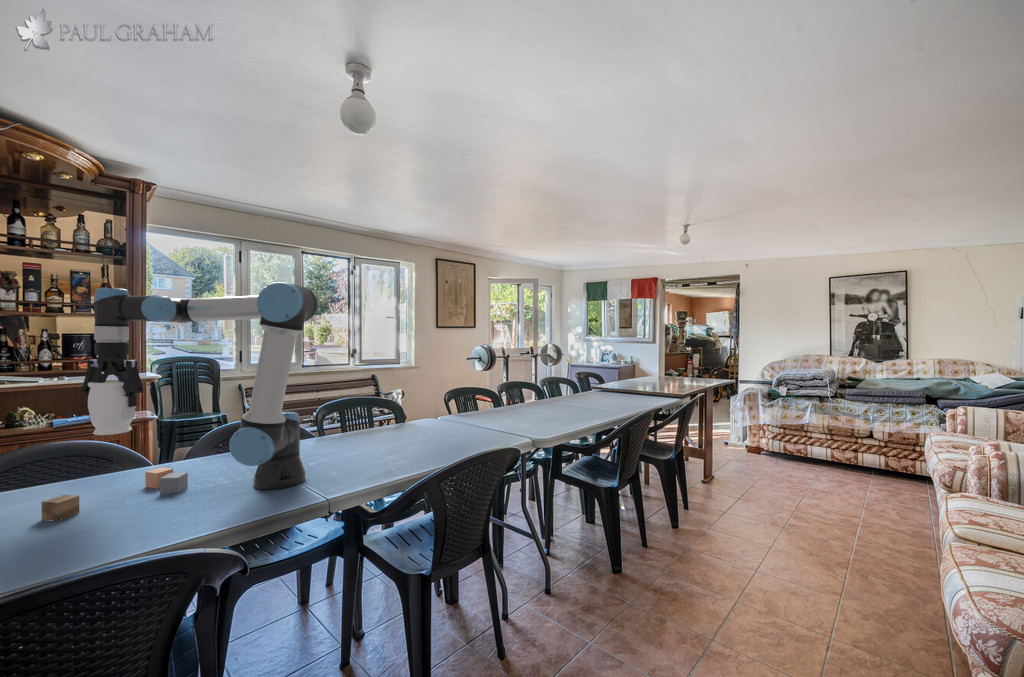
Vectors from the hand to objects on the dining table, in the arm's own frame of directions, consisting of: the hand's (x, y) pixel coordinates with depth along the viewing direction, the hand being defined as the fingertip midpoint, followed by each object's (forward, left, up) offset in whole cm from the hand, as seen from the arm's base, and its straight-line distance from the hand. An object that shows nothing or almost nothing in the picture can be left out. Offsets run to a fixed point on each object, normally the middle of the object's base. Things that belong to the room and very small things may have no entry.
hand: (112, 417), depth 129 cm
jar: (0, 0, -4) cm, 4 cm away
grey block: (-11, -9, -24) cm, 28 cm away
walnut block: (+2, +12, -24) cm, 27 cm away
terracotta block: (-2, -13, -24) cm, 28 cm away
